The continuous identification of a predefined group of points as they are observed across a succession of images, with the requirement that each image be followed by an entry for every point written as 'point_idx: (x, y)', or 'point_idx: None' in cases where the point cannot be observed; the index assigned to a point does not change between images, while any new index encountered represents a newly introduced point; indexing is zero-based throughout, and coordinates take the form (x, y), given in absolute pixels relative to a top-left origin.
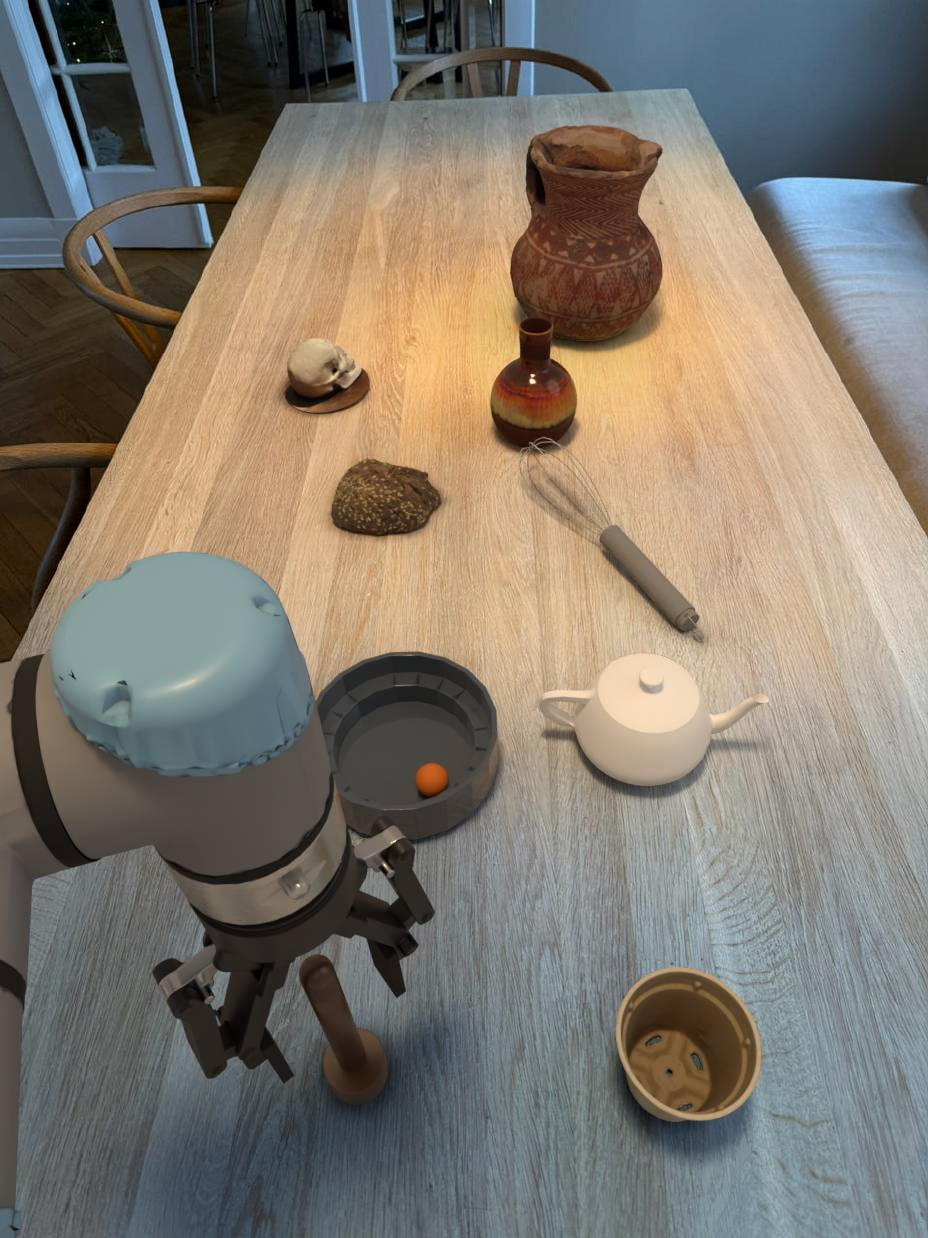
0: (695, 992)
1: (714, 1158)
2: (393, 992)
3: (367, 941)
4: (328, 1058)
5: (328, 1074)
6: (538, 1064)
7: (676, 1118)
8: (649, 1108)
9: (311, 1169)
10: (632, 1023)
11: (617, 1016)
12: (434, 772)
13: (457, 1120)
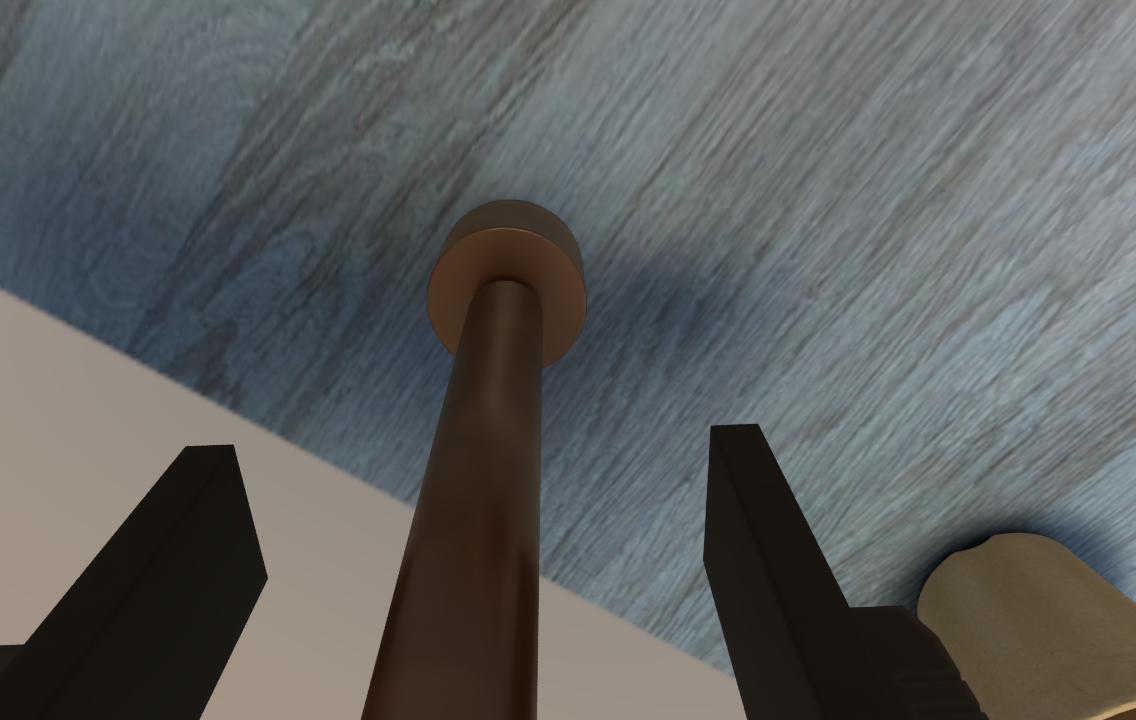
0: None
1: None
2: (708, 561)
3: (783, 620)
4: (453, 264)
5: (436, 296)
6: (832, 462)
7: None
8: None
9: (337, 370)
10: (1067, 620)
11: (1096, 716)
12: None
13: (636, 454)
